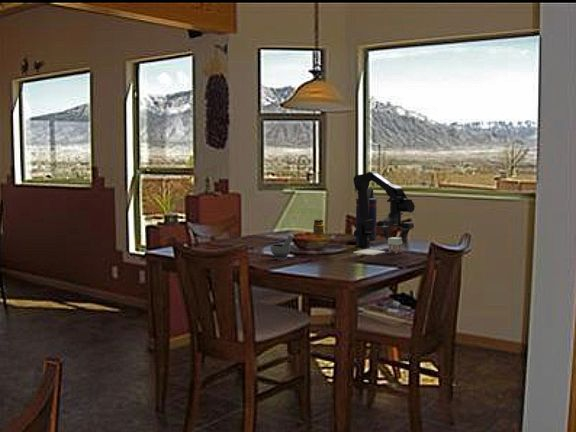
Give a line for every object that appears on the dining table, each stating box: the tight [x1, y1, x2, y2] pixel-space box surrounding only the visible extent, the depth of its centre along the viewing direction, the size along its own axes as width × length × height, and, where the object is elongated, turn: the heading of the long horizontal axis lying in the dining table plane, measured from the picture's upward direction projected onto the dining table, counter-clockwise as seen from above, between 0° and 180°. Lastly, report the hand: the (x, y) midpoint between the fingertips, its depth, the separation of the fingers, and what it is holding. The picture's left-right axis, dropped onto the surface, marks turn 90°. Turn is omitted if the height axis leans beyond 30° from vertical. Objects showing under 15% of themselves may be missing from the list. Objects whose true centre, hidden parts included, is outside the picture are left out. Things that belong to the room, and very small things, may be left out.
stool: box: [387, 236, 404, 254], centre depth 361 cm, size 6×6×8 cm
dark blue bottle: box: [355, 188, 378, 241], centre depth 406 cm, size 14×12×30 cm
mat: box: [353, 248, 386, 256], centre depth 360 cm, size 12×12×1 cm
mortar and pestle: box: [270, 234, 294, 261], centre depth 340 cm, size 11×9×12 cm
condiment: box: [312, 219, 325, 234], centre depth 404 cm, size 7×8×12 cm
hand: (395, 240), depth 360 cm, fingers open, 9 cm apart
